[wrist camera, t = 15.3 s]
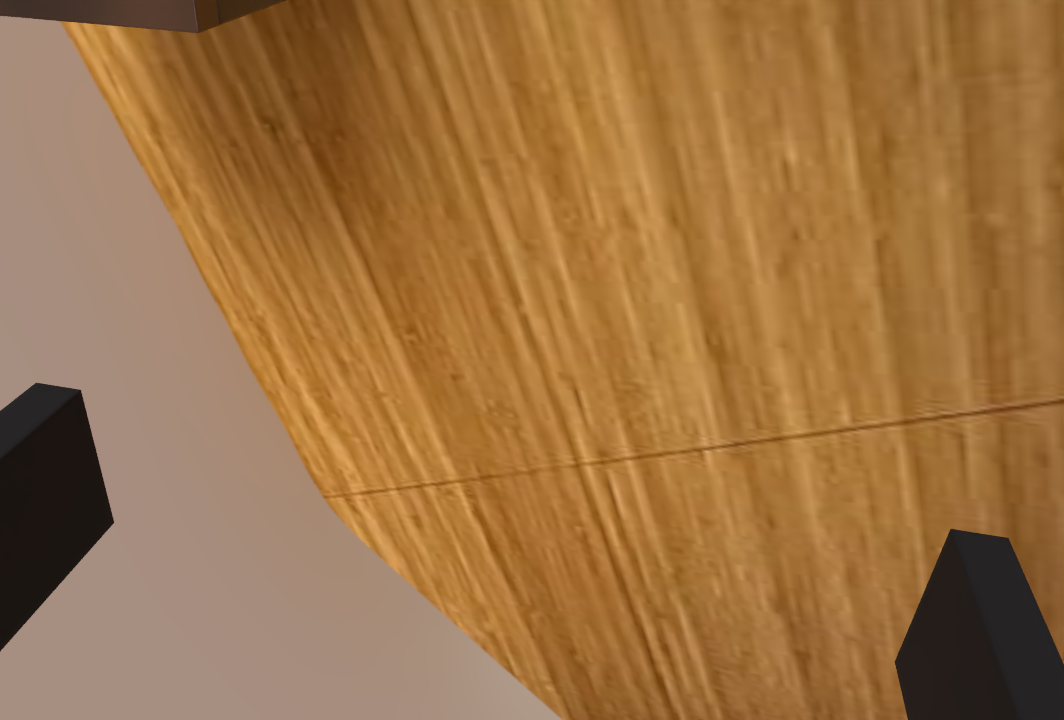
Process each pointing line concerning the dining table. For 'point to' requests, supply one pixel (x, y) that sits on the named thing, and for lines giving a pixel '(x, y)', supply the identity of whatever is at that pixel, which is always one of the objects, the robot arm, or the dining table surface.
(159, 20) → the shoe rack
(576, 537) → the dining table surface
